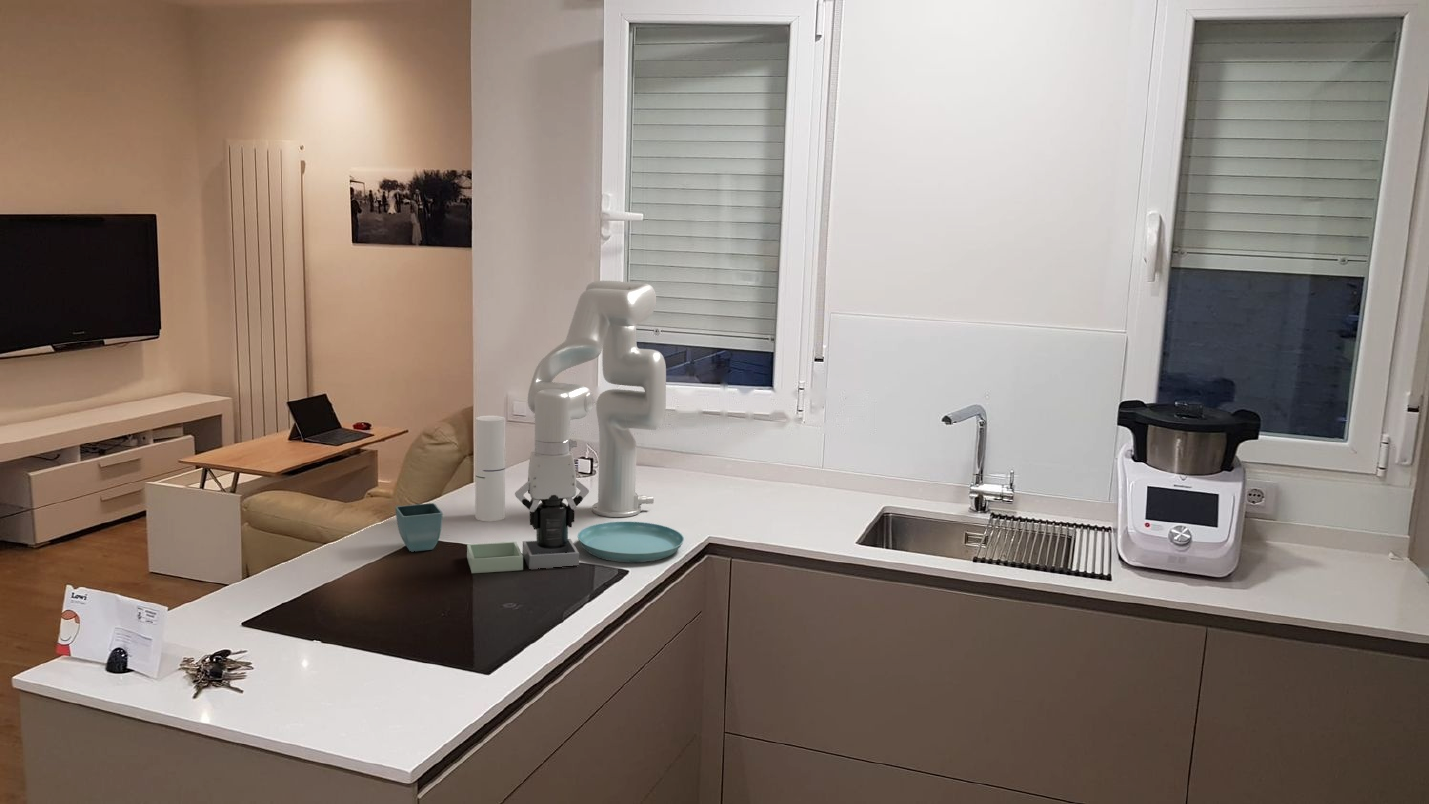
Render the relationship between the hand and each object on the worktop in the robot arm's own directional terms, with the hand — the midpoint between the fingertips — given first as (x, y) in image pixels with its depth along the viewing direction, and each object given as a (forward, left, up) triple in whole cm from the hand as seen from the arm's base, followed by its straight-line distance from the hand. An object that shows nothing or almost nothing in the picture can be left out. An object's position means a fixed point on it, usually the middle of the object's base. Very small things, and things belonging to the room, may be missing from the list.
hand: (552, 525), depth 230 cm
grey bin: (0, +1, -8) cm, 8 cm away
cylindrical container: (+9, -35, -8) cm, 37 cm away
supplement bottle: (0, 0, -5) cm, 5 cm away
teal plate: (-19, -4, -8) cm, 21 cm away
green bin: (+12, +1, -8) cm, 15 cm away
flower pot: (+27, -13, -8) cm, 31 cm away
